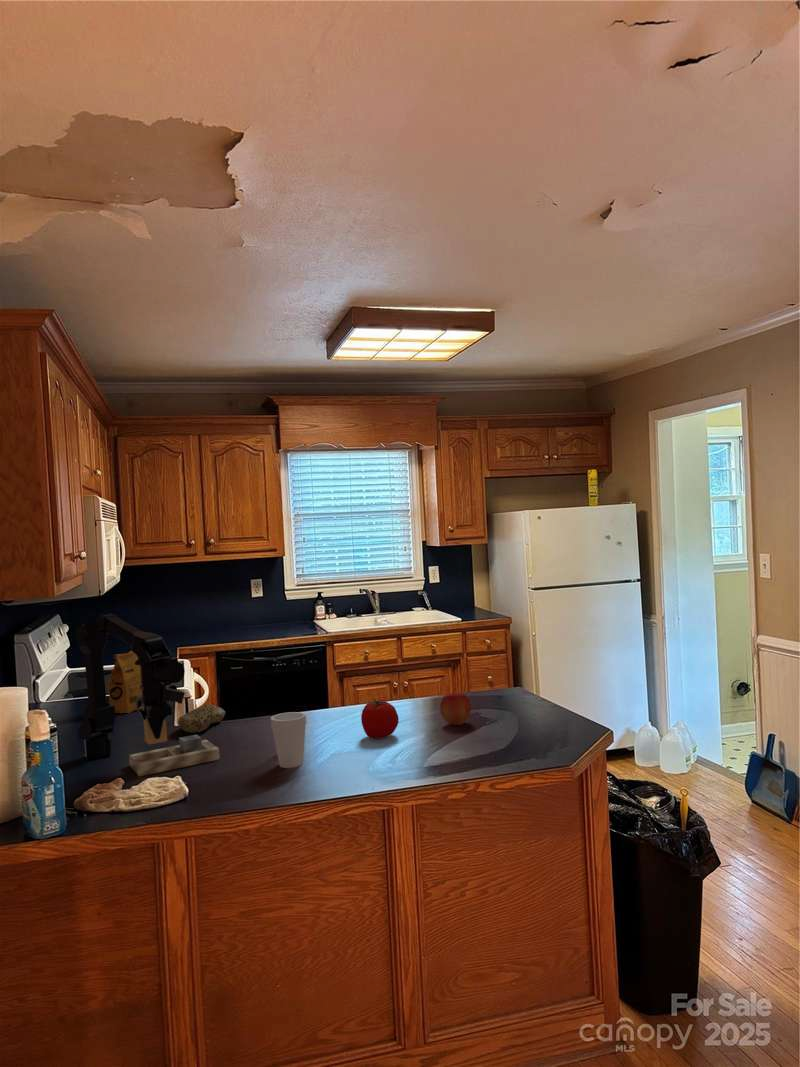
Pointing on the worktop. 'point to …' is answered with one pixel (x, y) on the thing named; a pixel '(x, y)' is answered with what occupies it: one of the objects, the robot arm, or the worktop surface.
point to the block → (150, 736)
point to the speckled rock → (201, 718)
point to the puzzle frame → (174, 756)
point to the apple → (455, 708)
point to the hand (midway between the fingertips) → (155, 736)
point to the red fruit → (379, 719)
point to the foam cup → (289, 738)
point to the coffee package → (125, 683)
